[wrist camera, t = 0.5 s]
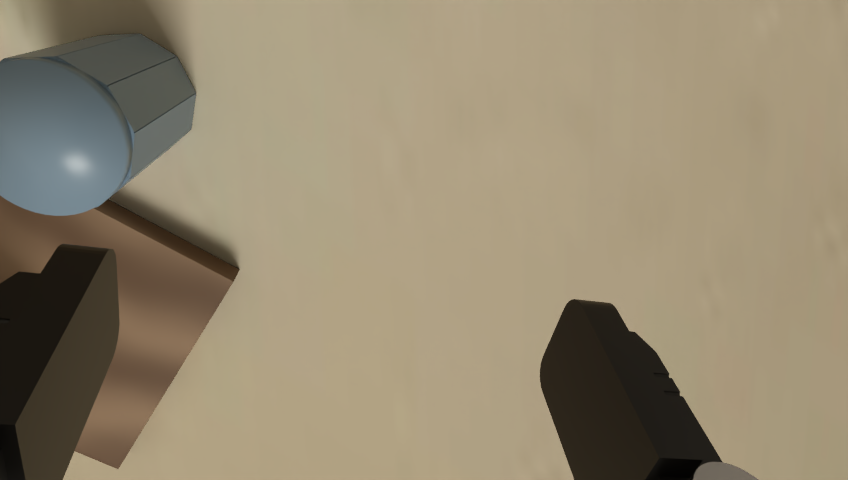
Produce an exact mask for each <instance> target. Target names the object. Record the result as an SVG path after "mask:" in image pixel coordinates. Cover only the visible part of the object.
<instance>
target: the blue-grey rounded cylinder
mask: <svg viewBox="0 0 848 480" xmlns="http://www.w3.org/2000/svg"><path fill="white" fill-rule="evenodd" d="M195 98H196V92H195V90H194V88H193V86H192V84H191V82H190V80H189V78H188V76H187V74H186V72H185V70H184V69H183V67H182V65H181V63H180V61H179V59H178V57H176V55H174V54H173V53H171V52H169V51H168V50H166V49H165V48H163V47H161V46H160V45H158V44H156V43H155V42H153V41H152V40H150V39H148V38H147V37H145V36H143V35H142V34H117V35H99V36H95V37H91V38H87V39H83V40H79V41H74V42H70V43H66V44H62V45H58V46H54V47H50V48H45V49H41V50H37V51H33V52H29V53H25V54H21V55H16V56H12V57H8V58H4V59H3V60H2V61H1V62H0V196H2V197H3V198H4V199H6V200H8V201H10V202H11V203H13V204H15V205H17V206H19V207H21V208H24V209H26V210H29V211H32V212H35V213H40V214H45V215H53V216H68V215H75V214H79V213H83V212H86V211H88V210H91V209H93V208H95V207H99V206H100V205H101V204H103V203H104V202H105V201H106V200H107V199H109V198H110V197H111V196H112V195H114V194H115V193H116V192H117V191H118V190H120V189H121V188H122V187H123V186H125V185H126V184H127V183H128V182H129V181H131V180H132V179H133V178H134V177H136V176H137V175H138V174H139V173H140V172H142V171H143V170H144V169H145V168H147V167H148V166H149V165H150V164H151V163H153V162H154V161H155V160H156V159H158V158H159V157H160V156H161V155H162V154H164V153H165V152H166V151H167V150H168V149H169V148H171V147H172V146H173V145H174V144H175V143H176V142H177V141H179V140H180V139H181V138H182V137H183V136H184V135H185V134H187V133H188V132H189V131H190V130H191V128H192V120H193V113H194V106H195Z"/></svg>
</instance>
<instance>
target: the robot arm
mask: <svg viewBox="0 0 848 480" xmlns="http://www.w3.org/2000/svg"><path fill="white" fill-rule="evenodd" d="M119 323H120V322H119V300H118V281H117V262H116V254H115V252H114V250H113V249H108V248H99V247H90V246H80V245H71V244H61V245H59V246H58V247H57V249H56V250H55V252H54V253H53V255H52V256H51V258H50V259H49V261H48V262H47V264H46V265H45V267H44V268H43V270H42V271H41V273H30V272H20V271H19V272H17V273H16V274H14V275H13V276H11V277H9V278H8V279H6V280H5V281H3V282H2V283H0V480H63V477H64V475H65V472H66V470H67V468H68V465H69V463H70V460H71V458H72V455H73V453H74V451H75V448H76V446H77V443H78V441H79V439H80V436H81V434H82V431H83V429H84V427H85V424H86V422H87V419H88V417H89V415H90V412H91V410H92V407H93V405H94V402H95V400H96V398H97V395H98V393H99V390H100V388H101V386H102V383H103V381H104V378H105V376H106V374H107V371H108V369H109V366H110V364H111V362H112V359H113V356H114V353H115V350H116V346H117V341H118V335H119ZM540 382H541V388H542V391H543V394H544V397H545V400H546V402H547V405H548V408H549V411H550V413H551V416H552V419H553V422H554V424H555V427H556V430H557V433H558V435H559V438H560V441H561V444H562V447H563V449H564V452H565V455H566V458H567V460H568V463H569V466H570V469H571V471H572V474H573V477H574V480H758V479H757V478H755V477H754V476H752V475H751V474H749V473H748V472H746V471H744V470H742V469H740V468H738V467H736V466H733V465H730V464H727V463H723V462H722V461H721V459H720V457H719V456H718V454H717V452H716V451H715V449H714V447H713V446H712V444H711V442H710V441H709V439H708V437H707V436H706V434H705V432H704V431H703V429H702V427H701V426H700V424H699V423H698V421H697V419H696V418H695V416H694V414H693V413H692V411H691V409H690V408H689V406H688V404H687V403H686V401H685V399H684V398H683V397H682V396H680V391H679V389H678V388H677V386H676V384H675V383H674V381H673V379H672V378H669V373H668V371H667V369H666V368H665V366H664V365H663V363H662V361H661V360H660V358H659V356H658V355H657V353H656V352H655V351H654V350H653V349H652V348H651V347H650V346H649V345H648V344H647V343H646V342H645V341H644V340H643V339H642V338H641V337H640V336H638V335H637V334H636V333H635V332H630V331H629V330H628V328H627V327H626V325H625V323H624V321H623V320H622V318H621V316H620V314H619V313H618V311H617V309H616V308H615V306H613V305H612V304H611V303H604V302H595V301H585V300H576V299H573V300H571V301H569V302H568V303H567V305H566V306H565V308H564V310H563V312H562V315H561V317H560V319H559V322H558V324H557V326H556V328H555V331H554V333H553V335H552V337H551V340H550V342H549V344H548V347H547V349H546V351H545V353H544V356H543V358H542V362H541V368H540Z"/></svg>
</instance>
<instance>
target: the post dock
mask: <svg viewBox="0 0 848 480" xmlns="http://www.w3.org/2000/svg"><path fill="white" fill-rule="evenodd" d="M61 244H71V245H80V246H90V247H99V248H108V249H113V250H114V252H115V254H116V262H117V281H118V300H119V322H120V323H119V335H118V341H117V346H116V350H115V353H114V356H113V359H112V362H111V364H110V366H109V369H108V371H107V374H106V376H105V378H104V381H103V383H102V386H101V388H100V390H99V393H98V395H97V398H96V400H95V402H94V405H93V407H92V410H91V412H90V415H89V417H88V419H87V422H86V424H85V427H84V429H83V431H82V434H81V436H80V439H79V441H78V443H77V446H76V448H75V451H76V452H78V453H81V454H83V455H86V456H88V457H90V458H93V459H95V460H98V461H100V462H102V463H105V464H107V465H110V466H112V467H114V468H117V469H118V468H119V467H120V465H121V464H122V462H123V460H124V459H125V457H126V455H127V454H128V452H129V451H130V449H131V447H132V446H133V444H134V442H135V441H136V439H137V438H138V436H139V434H140V433H141V431H142V429H143V428H144V426H145V425H146V423H147V421H148V420H149V418H150V416H151V415H152V413H153V412H154V410H155V408H156V407H157V405H158V403H159V402H160V400H161V399H162V397H163V395H164V394H165V392H166V390H167V389H168V387H169V386H170V384H171V382H172V381H173V379H174V377H175V376H176V374H177V372H178V371H179V369H180V368H181V366H182V364H183V363H184V361H185V359H186V358H187V356H188V355H189V353H190V351H191V350H192V348H193V346H194V345H195V343H196V342H197V340H198V338H199V337H200V335H201V333H202V332H203V330H204V329H205V327H206V325H207V324H208V322H209V320H210V319H211V317H212V316H213V314H214V312H215V311H216V309H217V307H218V306H219V304H220V303H221V301H222V299H223V298H224V296H225V294H226V293H227V291H228V290H229V288H230V286H231V285H232V283H233V281H234V279H235V277H236V275H237V273H238V271H239V269H238V268H236V267H234V266H232V265H230V264H228V263H226V262H224V261H223V260H221V259H219V258H217V257H215V256H213V255H211V254H209V253H208V252H206V251H204V250H202V249H200V248H198V247H196V246H194V245H192V244H191V243H189V242H187V241H185V240H183V239H181V238H179V237H177V236H176V235H174V234H172V233H170V232H168V231H166V230H164V229H162V228H160V227H159V226H157V225H155V224H153V223H151V222H149V221H147V220H145V219H144V218H142V217H140V216H138V215H136V214H134V213H132V212H130V211H128V210H127V209H125V208H123V207H121V206H119V205H117V204H115V203H113V202H112V201H110V200H108V199H107V200H106V201H105V202H104V203H103V204H101V205H100V206H99V207H95V208H93V209H91V210H88V211H86V212H83V213H79V214H75V215H68V216H53V215H45V214H40V213H35V212H32V211H29V210H26V209H24V208H21V207H19V206H17V205H15V204H13V203H11V202H10V201H8V200H6V199H4V198H3V197H2V196H0V283H2V282H3V281H5V280H6V279H8V278H9V277H11V276H13V275H14V274H16V273H17V272H19V271H20V272H30V273H41V271H42V270H43V268H44V267H45V265H46V264H47V262H48V261H49V259H50V258H51V256H52V255H53V253H54V252H55V250H56V249H57V247H58V246H59V245H61Z"/></svg>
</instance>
